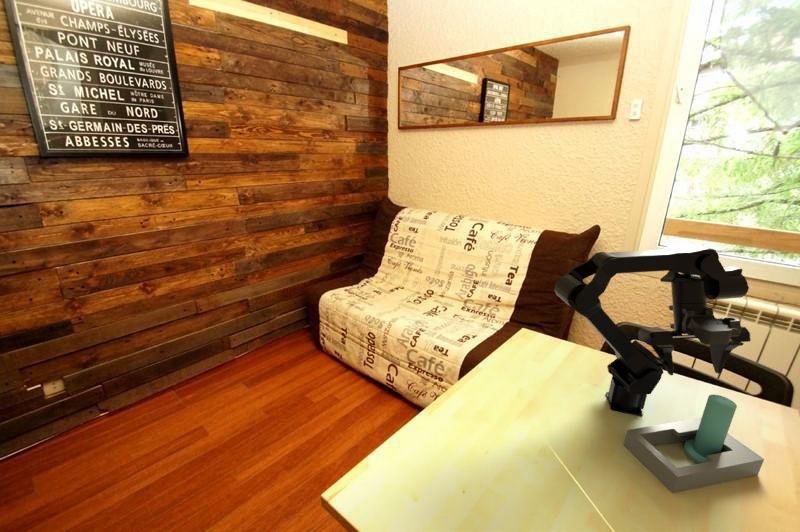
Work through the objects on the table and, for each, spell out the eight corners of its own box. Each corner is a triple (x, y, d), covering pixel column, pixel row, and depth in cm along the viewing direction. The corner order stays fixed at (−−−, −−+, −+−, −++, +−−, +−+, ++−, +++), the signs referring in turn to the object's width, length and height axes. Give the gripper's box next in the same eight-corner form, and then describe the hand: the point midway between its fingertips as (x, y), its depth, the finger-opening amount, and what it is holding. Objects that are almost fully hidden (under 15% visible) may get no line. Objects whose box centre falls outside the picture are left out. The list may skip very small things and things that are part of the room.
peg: (676, 449, 71) (693, 396, 67) (694, 439, 74) (711, 387, 70) (714, 474, 66) (734, 417, 62) (732, 462, 68) (752, 407, 64)
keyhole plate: (672, 493, 62) (677, 476, 61) (623, 444, 72) (627, 429, 71) (757, 474, 66) (764, 459, 64) (699, 431, 76) (704, 416, 75)
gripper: (664, 310, 69) (670, 389, 69) (773, 304, 66) (778, 386, 66) (634, 302, 80) (639, 371, 80) (726, 297, 77) (731, 367, 77)
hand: (694, 374), depth 76 cm, fingers open, 9 cm apart
